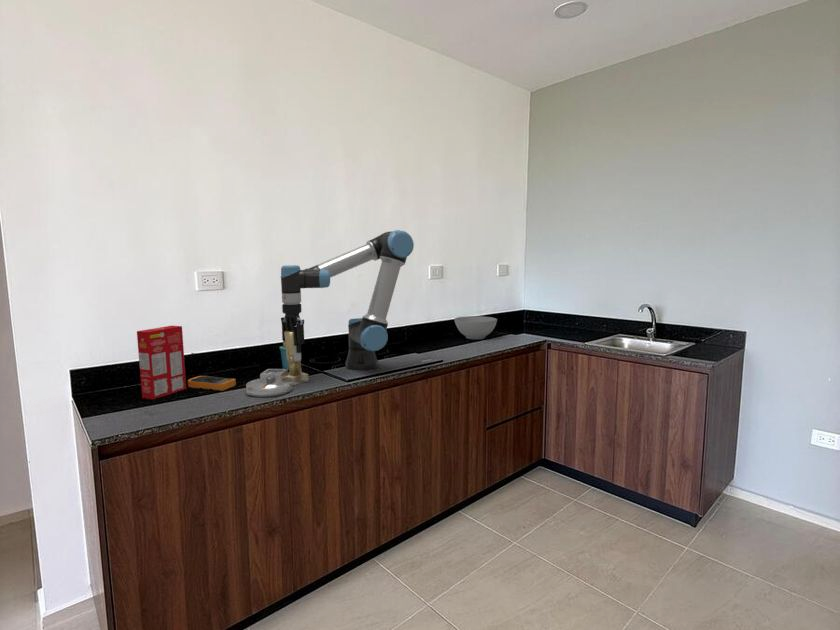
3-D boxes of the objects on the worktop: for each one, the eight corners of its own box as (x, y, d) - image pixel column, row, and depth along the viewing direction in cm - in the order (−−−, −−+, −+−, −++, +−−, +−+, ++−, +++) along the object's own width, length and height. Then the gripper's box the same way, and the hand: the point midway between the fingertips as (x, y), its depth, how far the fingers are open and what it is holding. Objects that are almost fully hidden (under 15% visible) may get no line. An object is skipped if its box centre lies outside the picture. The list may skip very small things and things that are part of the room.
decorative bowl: (474, 332, 310) (474, 315, 309) (505, 338, 290) (505, 319, 289) (445, 337, 293) (445, 318, 292) (476, 343, 273) (476, 323, 271)
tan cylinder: (295, 370, 194) (289, 329, 191) (304, 371, 192) (299, 329, 188) (287, 374, 190) (281, 332, 186) (296, 375, 188) (291, 332, 184)
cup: (306, 370, 209) (304, 338, 207) (291, 373, 203) (289, 340, 201) (289, 365, 218) (287, 334, 216) (274, 368, 213) (272, 336, 211)
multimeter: (201, 382, 191) (200, 374, 190) (237, 386, 185) (236, 378, 185) (185, 388, 183) (184, 379, 182) (222, 392, 177) (221, 383, 177)
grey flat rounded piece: (257, 383, 187) (256, 368, 186) (298, 383, 187) (298, 369, 186) (239, 396, 169) (238, 380, 169) (284, 397, 169) (284, 381, 168)
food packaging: (176, 387, 183) (171, 325, 179) (186, 388, 181) (181, 326, 178) (142, 398, 169) (136, 331, 166) (152, 399, 167) (147, 332, 164)
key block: (297, 377, 196) (297, 371, 196) (308, 381, 191) (308, 374, 191) (280, 381, 191) (280, 374, 190) (291, 385, 185) (291, 378, 185)
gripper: (271, 302, 190) (274, 357, 193) (296, 305, 178) (298, 364, 181) (287, 301, 195) (289, 354, 198) (312, 304, 184) (314, 361, 187)
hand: (293, 359), depth 190 cm, fingers closed on tan cylinder, 5 cm apart
